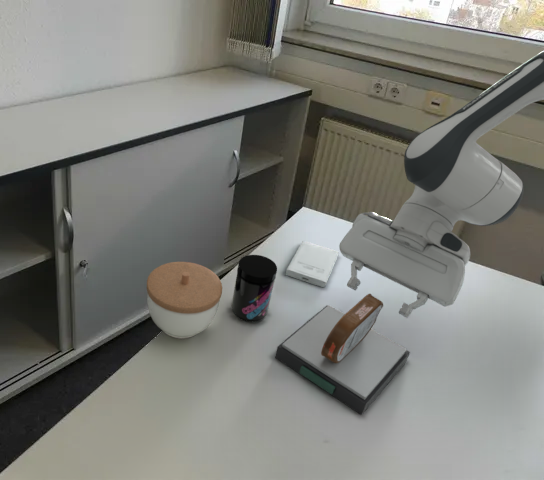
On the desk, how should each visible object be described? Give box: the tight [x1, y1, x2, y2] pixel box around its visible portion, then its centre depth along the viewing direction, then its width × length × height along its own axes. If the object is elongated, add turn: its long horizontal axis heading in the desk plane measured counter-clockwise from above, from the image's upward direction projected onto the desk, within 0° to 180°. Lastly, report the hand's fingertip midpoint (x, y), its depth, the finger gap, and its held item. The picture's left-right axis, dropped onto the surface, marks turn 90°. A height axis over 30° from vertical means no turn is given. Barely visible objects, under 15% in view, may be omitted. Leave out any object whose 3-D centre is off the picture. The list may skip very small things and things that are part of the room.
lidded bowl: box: [146, 261, 223, 340], centre depth 92 cm, size 13×13×11 cm
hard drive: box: [285, 240, 340, 288], centre depth 113 cm, size 2×8×12 cm
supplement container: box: [230, 254, 278, 323], centre depth 96 cm, size 7×7×10 cm
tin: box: [321, 293, 384, 363], centre depth 87 cm, size 15×3×8 cm, turn 137°
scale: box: [274, 304, 411, 415], centre depth 90 cm, size 16×16×3 cm
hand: (376, 301), depth 90 cm, fingers open, 8 cm apart
